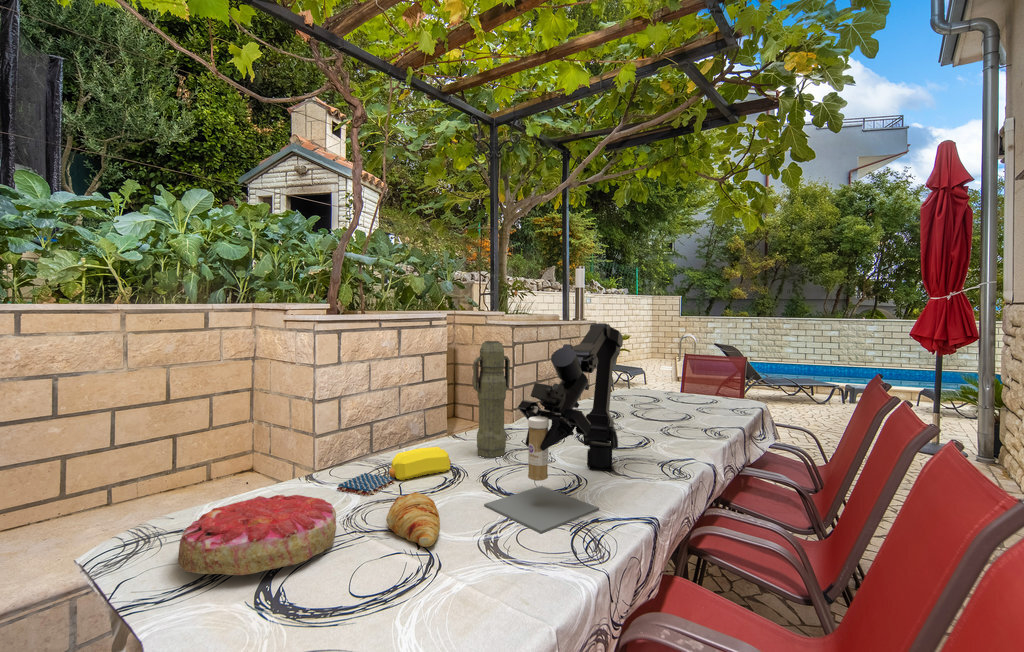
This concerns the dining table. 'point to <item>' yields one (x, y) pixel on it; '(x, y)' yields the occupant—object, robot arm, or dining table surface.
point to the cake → (257, 535)
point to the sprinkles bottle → (537, 448)
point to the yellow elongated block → (419, 463)
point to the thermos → (491, 398)
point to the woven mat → (365, 484)
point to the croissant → (415, 519)
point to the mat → (541, 508)
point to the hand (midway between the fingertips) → (533, 447)
